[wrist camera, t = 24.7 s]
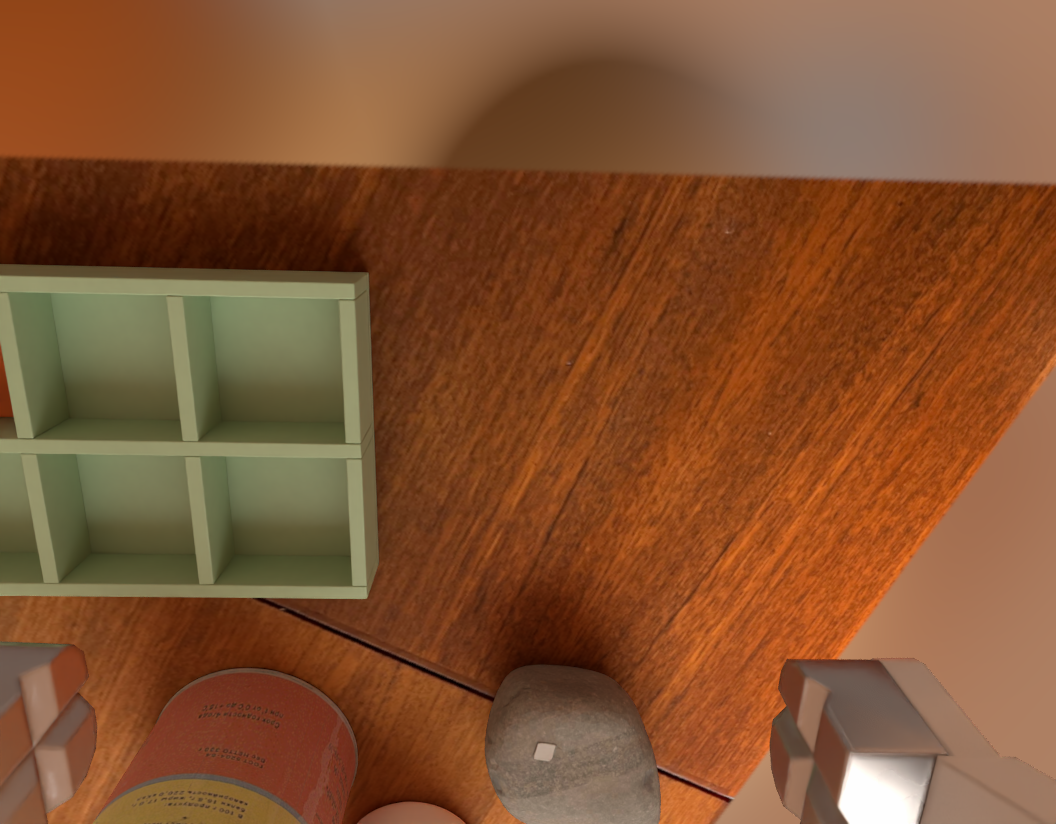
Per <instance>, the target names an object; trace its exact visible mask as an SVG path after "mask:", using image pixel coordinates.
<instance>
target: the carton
mask: <svg viewBox="0 0 1056 824" xmlns="http://www.w3.org/2000/svg"><path fill="white" fill-rule="evenodd" d="M378 564H379V551H378V523H377V495H376V467H375V439H374V412H373V384H372V356H371V328H370V300H369V274H368V273H367V272H328V271H283V270H239V269H195V268H151V267H107V266H63V265H18V264H0V596H102V597H212V598H323V599H367V598H368V595H369V592H370V589H371V585H372V582H373V579H374V576H375V573H376V570H377V567H378Z"/></svg>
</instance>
